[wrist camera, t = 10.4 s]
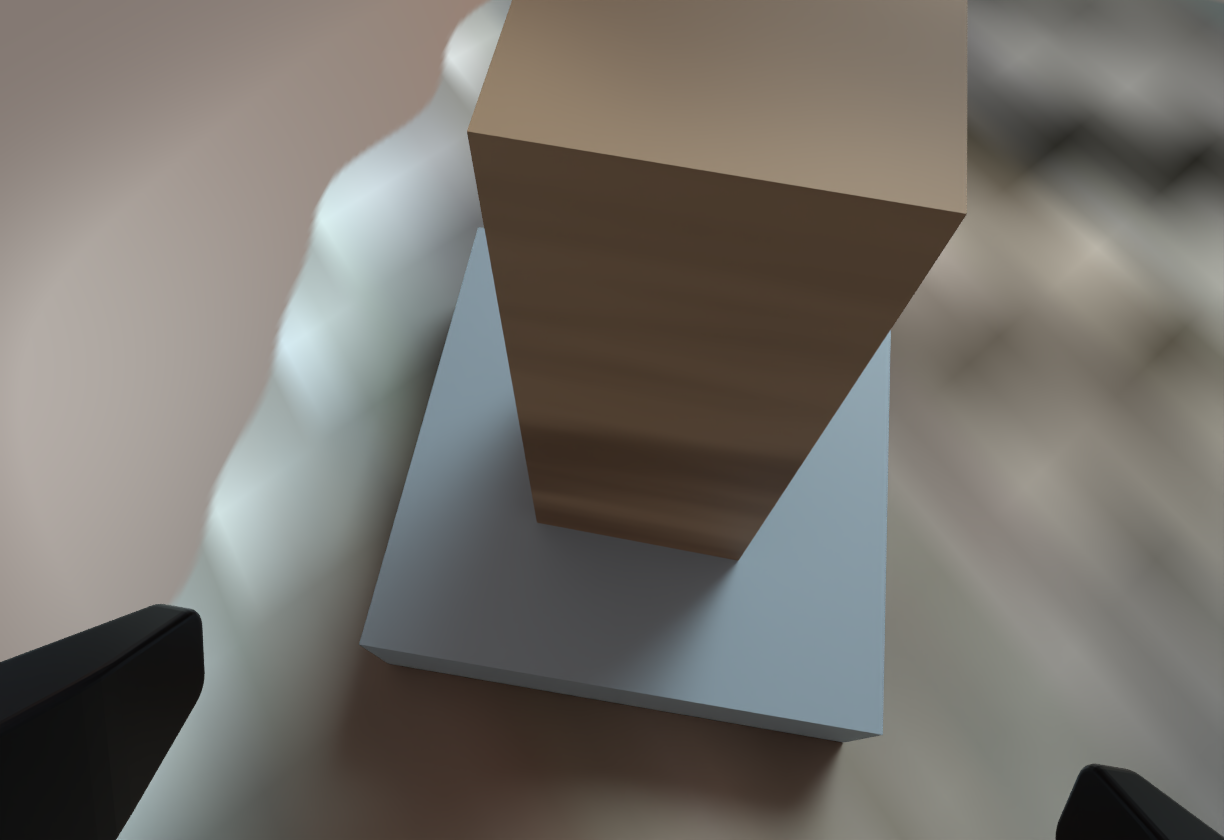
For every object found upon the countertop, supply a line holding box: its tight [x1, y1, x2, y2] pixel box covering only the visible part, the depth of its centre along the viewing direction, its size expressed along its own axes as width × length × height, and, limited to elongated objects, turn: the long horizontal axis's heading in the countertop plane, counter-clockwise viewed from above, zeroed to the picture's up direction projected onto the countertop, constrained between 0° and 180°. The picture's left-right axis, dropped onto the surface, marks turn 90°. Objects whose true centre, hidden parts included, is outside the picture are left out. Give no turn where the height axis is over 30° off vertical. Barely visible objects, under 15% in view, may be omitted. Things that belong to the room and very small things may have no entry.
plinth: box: [359, 227, 891, 742], centre depth 22 cm, size 12×12×3 cm
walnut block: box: [467, 0, 967, 561], centre depth 15 cm, size 5×5×13 cm
